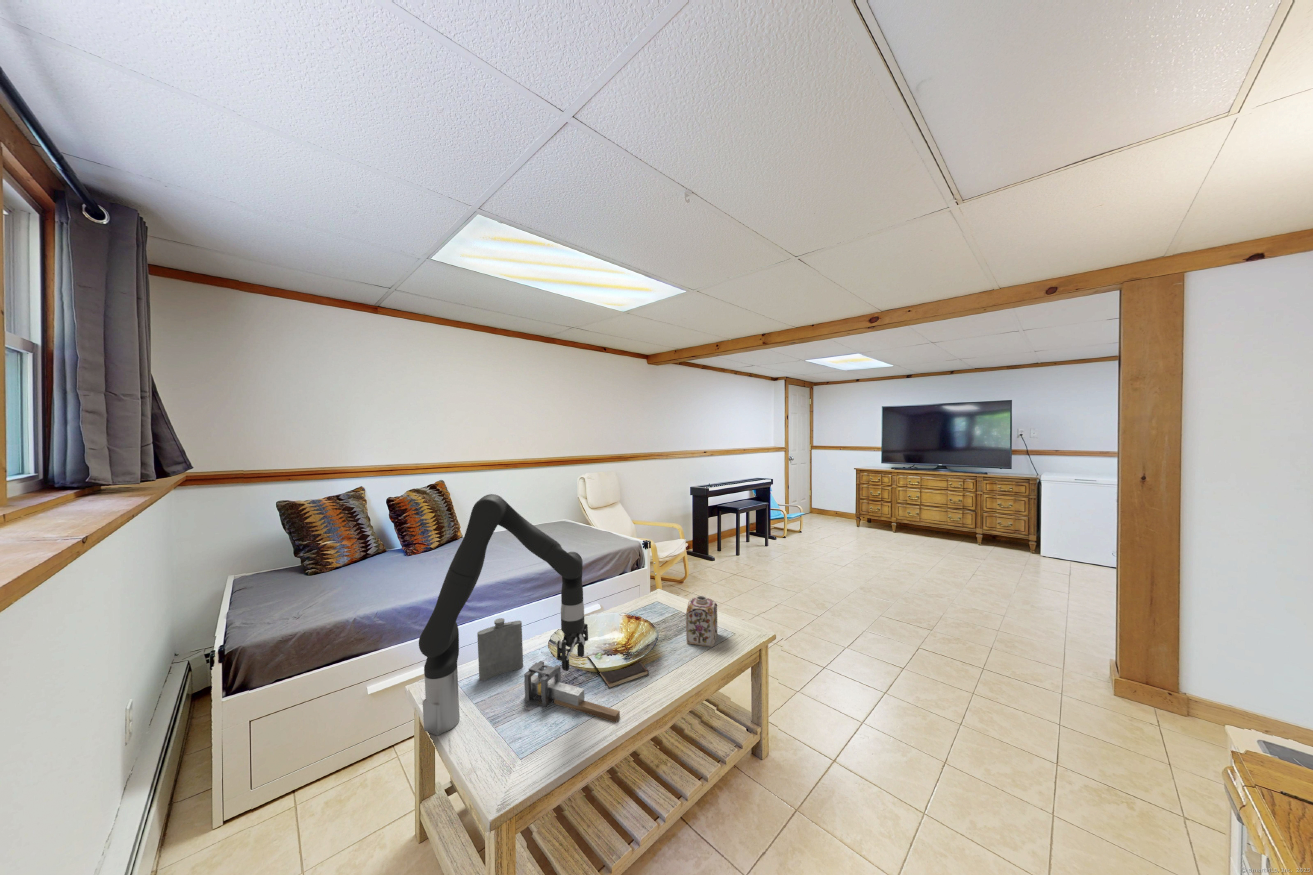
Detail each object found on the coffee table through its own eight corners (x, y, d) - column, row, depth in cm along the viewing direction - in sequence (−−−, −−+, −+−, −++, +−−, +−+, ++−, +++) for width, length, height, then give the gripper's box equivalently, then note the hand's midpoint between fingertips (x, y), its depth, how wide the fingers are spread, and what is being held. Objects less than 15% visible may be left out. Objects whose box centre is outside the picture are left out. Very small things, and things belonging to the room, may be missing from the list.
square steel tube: (584, 699, 139) (584, 688, 139) (578, 706, 136) (577, 695, 136) (531, 683, 148) (531, 673, 148) (524, 690, 145) (524, 679, 145)
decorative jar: (685, 643, 176) (685, 601, 175) (691, 630, 187) (690, 590, 186) (714, 647, 173) (713, 605, 172) (718, 633, 184) (717, 593, 183)
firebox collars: (545, 708, 138) (544, 678, 138) (525, 701, 142) (524, 672, 141) (561, 692, 146) (560, 664, 146) (541, 686, 150) (540, 658, 149)
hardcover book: (608, 689, 148) (608, 683, 148) (586, 657, 168) (586, 652, 168) (648, 675, 156) (648, 669, 156) (623, 646, 176) (622, 641, 176)
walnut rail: (615, 722, 131) (615, 716, 131) (554, 703, 141) (554, 697, 141) (619, 716, 134) (619, 710, 134) (559, 698, 143) (558, 692, 143)
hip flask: (480, 681, 153) (477, 628, 152) (478, 676, 157) (475, 623, 156) (524, 667, 162) (522, 616, 161) (521, 662, 165) (519, 612, 164)
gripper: (569, 626, 129) (570, 677, 130) (594, 607, 142) (594, 654, 143) (549, 622, 132) (550, 672, 133) (575, 603, 145) (576, 649, 146)
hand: (573, 662), depth 138 cm, fingers open, 8 cm apart
